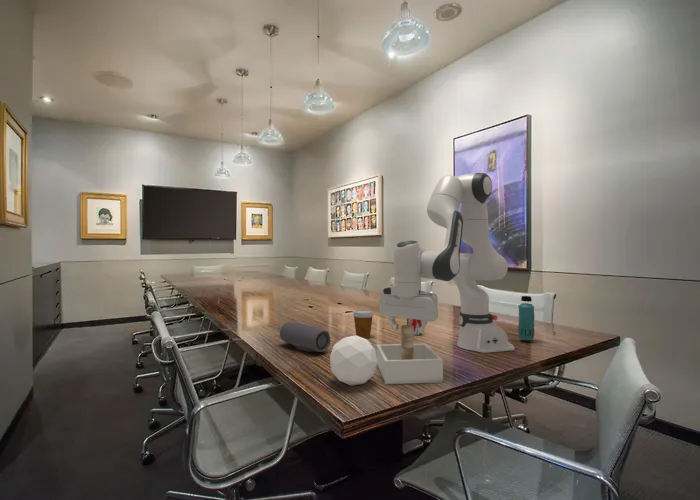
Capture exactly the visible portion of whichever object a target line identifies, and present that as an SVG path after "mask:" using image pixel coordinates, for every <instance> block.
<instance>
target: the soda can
mask: <svg viewBox="0 0 700 500" xmlns="http://www.w3.org/2000/svg"><path fill="white" fill-rule="evenodd" d="M422 324H423V323H421V320H417V319H409V318H406V325H412V326H414V336H415V337H417V336H420V335H421V334H420V333H418V328H419V327H421V326H422Z"/></svg>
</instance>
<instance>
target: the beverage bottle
mask: <svg viewBox="0 0 700 500" xmlns="http://www.w3.org/2000/svg"><path fill="white" fill-rule="evenodd" d="M520 297H521V299H520V301H521V302H522V303H520V304H519V305H518V330H517V333H518V335H517V336H518V338H519V339H520V340H526V341H531V340H532V341H533V340H534V339H535V306H534V305H533V304H532V303H529V302H532V296H529V295H521V296H520Z"/></svg>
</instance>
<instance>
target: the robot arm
mask: <svg viewBox="0 0 700 500" xmlns="http://www.w3.org/2000/svg"><path fill="white" fill-rule="evenodd" d="M492 191H493V182H492V178H491V177H490V175H488V174H487V173H485V172H476V173H464V174H460V175H456V176H455V175H450V174H449V175H445V176H442V177H441V178H440V179H439V180H438V182H437V183H436V185H435V187H434V189H433V190H432V192H431V195H430V198H429V201H428V203H427V207H426V212H427V216H428V218H429V219H430V220H431V222H432V223H434V224H436V225H438V226H440V227H441V228H444V229H446V232H445V241H444V246H443V247H442V248H441V249H439V250H425V249H424V248H422V247H421V246H420V244H419V242H418V241H417V240H405V241H399V242H398V243H397V244H396V245H395V248H394V253H393V271H394V278H393V284H390V285H389V286H384V287H382V288H381V289H380V294H381V296H380V297H379V309H378V311H379V313H380V315H382V316H385V317H386V316H388V317H389V318H388V319H389V321H390V323H391V325H392V330H399V329H400V327H399V323H397V321H396V318H404V319H407V318H409V319H417V320H421V323H422V326H421V327H419V328H418V333H420V335H421V334H422V335H424V334H425V328H426V326H427V324H428V323H429V322H435V321H436V320H438V318H439V308H438V302H439V299H438V296H437V294H436V293H434V292H433V291H425V290H422V279H431V280H437V281H444V282H450V281H452V280H453V281H454V283H455V284H456V286H457V289H458V291H459V299H460V312H459V319H458V320H459V333H458V334H459V335H458V339H457V342H456V346H457V347H459V348H460V349H463V350H467V351H473V352H479V353H482V354H485V353H487V354H489V353H497V352H499V353H500V352H508V351H515V346H514V345H513V343H511V342H509V338H508V334H507V332H506V331H505V330H503V329H502V328H501V327H499V326H498V325H497V324H496V323H495V322H494V321H497V320H498V315H495V314H492V313H489V312H490V311H489V310H490V309H489V308H490V306H489V305H490V304H489V303H490V299H489V298H490V297H489V295H488V293H487V292H486V291H485V289H483V288H480V286H479V285H478V284H477V282H476V281H478V280H479V281H499V280H501V279H503V278H505V276H506V275H507V273H508V267H509V265H508V262H507V259H506V258H504V256H502V255H501V254H500V253H499V252H498V251H497V250H496V249H495V247H494V246H493V244H492V242H491V240H490V231H489V210H488V206H487V200H488V199H489V198H490V196H491V194H492ZM459 209H460V212H459ZM462 241H463V243H465V244H466V245H468V246H470V247H471V248H472V250H473V253H472V252H471V253H469V252H467V253H461V245H462ZM493 320H494V321H493Z"/></svg>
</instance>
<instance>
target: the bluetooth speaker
mask: <svg viewBox="0 0 700 500" xmlns="http://www.w3.org/2000/svg"><path fill="white" fill-rule="evenodd" d="M279 337H280V339H281V340H282V341H284V342H285V343H287V344H290V345H292V346H294V348H295V349H297V350H300V351H303V350H304V352H307V353H313V352H319V353H322V352H326V351H327V350H328V348H329V347H330V345H331V336H330V333H329V331H327V330H325V329H323V328H319V327H315V326H312V325H307V324H304V323H300V322H299V323H298V322H292V321H288V322H287V321H286V322H285V323H283V324H282V325H281V327H280V330H279Z"/></svg>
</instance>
